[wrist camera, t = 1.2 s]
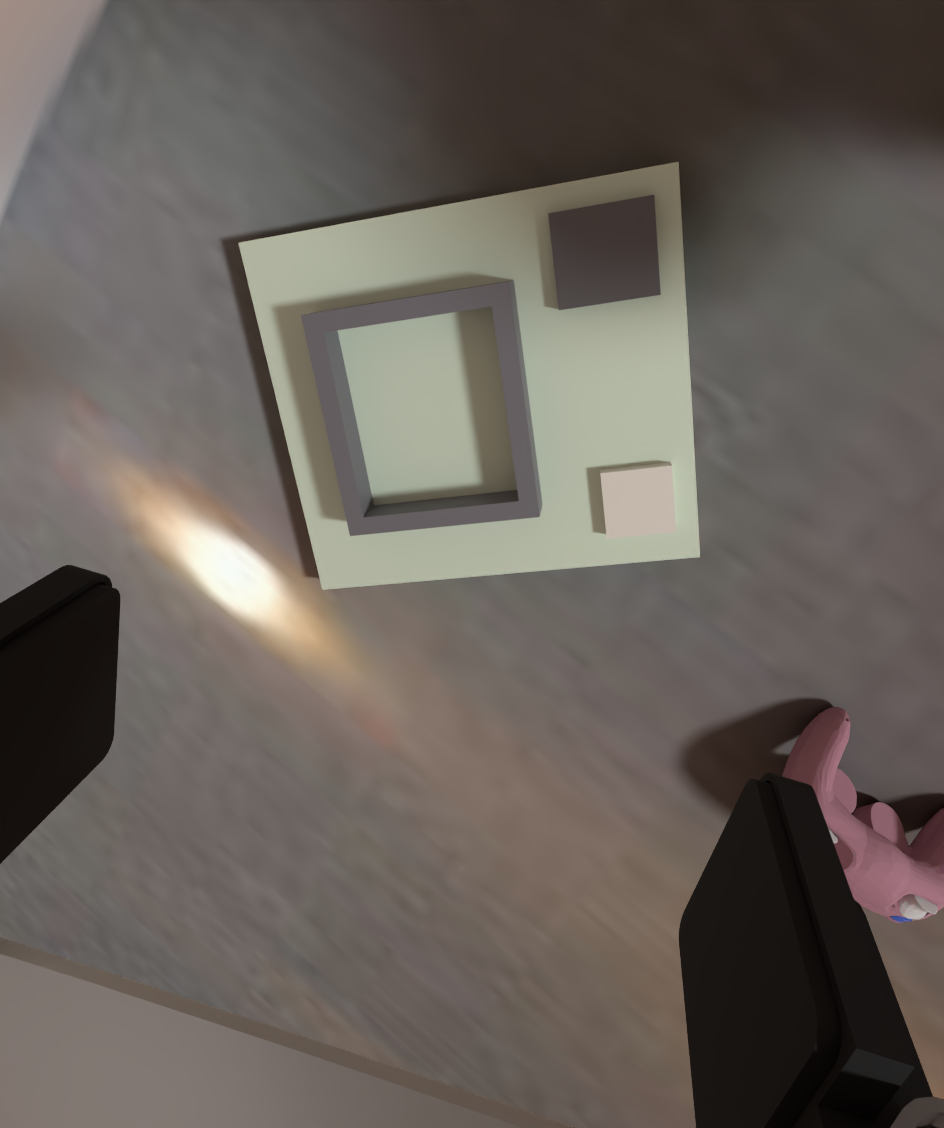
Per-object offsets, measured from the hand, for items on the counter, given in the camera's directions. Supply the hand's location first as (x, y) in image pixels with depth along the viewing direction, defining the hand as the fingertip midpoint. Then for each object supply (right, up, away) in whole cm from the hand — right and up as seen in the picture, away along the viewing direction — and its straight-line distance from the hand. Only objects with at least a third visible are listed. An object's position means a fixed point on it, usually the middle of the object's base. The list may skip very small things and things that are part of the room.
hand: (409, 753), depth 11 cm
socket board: (+1, +10, +24) cm, 26 cm away
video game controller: (+21, -8, +28) cm, 36 cm away
